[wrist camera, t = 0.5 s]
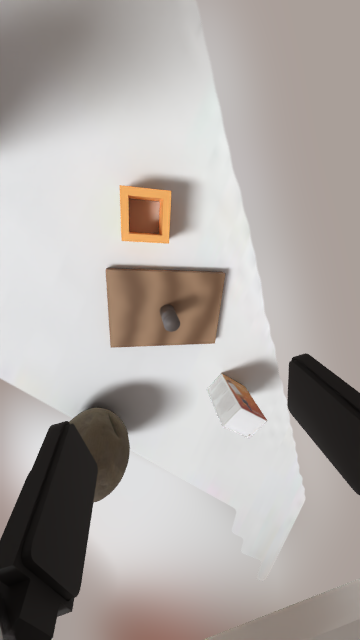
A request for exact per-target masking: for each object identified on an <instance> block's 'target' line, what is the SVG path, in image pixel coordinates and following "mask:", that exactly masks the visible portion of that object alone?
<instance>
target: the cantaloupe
mask: <svg viewBox="0 0 360 640" xmlns="http://www.w3.org/2000/svg"><path fill="white" fill-rule="evenodd" d="M69 423H70V424H72V423H73V424H74V425H75V427H76V428H77V430H78V432H79V434H80V435H81V437H82V439H83V440H84V442H85V444H86V446H87V447H88V449H89V451H90V453H91V454H92V456H93V458H94V459H95V461H96V463H97V467H98V474H97V481H96V488H95V494H94V501H93V502H97V501H99V500H101V499H103V498H104V497H106V496H107V495H109V494H110V493H111V492H112V491H113V490H114V489H115V487H116V486H117V485H118V483H119V482H120V481H121V479H122V477H123V475H124V472H125V470H126V467H127V464H128V459H129V449H130V446H129V439H128V433H127V429H126V427H125V425H124V423H123V422H122V420H121V419H120V418H119V417H118V416H117V415H116V414H115V413H113V412H112V411H110V410H107V409H103V408H91V409H88V410H85V411H83V412H81V413H80V414H78V415H77V416H76V417H74V418H73V419H72V420H71V421H70V422H69Z"/></svg>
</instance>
